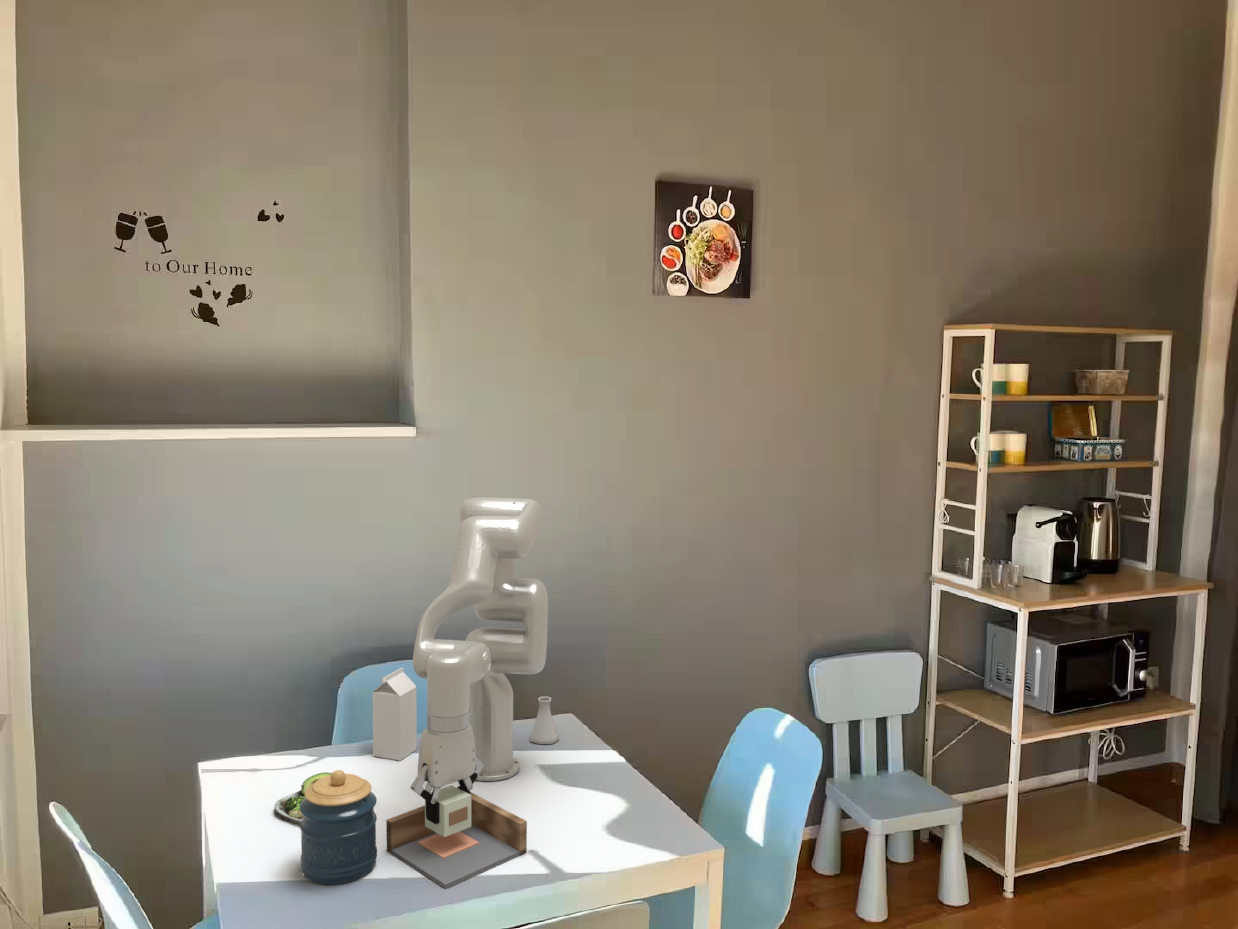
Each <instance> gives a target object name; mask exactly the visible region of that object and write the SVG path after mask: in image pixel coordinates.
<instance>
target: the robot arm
mask: <svg viewBox="0 0 1238 929" xmlns="http://www.w3.org/2000/svg"><path fill="white" fill-rule="evenodd" d="M459 517H460V522H461V523H460V525H459V527H458V532H457V538H456V542H455V549H454V553H453V554H454V555H453V560H452V567H451V572H450V578H449V582H448V583H449V584H448V586H447V588H446V589H445V590H444V591H443V592H442V593H440V594H439V595H438V596H437V597H436V598H434V600H433V601H432V602H431V603H430V605H429V606H428V607H427V608H426V610H425V611H424V613H423V614H422V616H421V619H420V621H419V623H418V627H417V632H416V636H415V637H416V638H415V641H414V646H413V647H414V648H413V653H412V654H413V655H412V656H413V657H412V666H413V670H414V673H415V674H416V675H417V676H418V677H419V678H421V679H424V680H426V728H424V729H423V730H422V733H421V734H422V735H421V737H420V742H419V743H420V744H419V751H418V761H417V776H416V777H415V779H414V780H413V782H412V784H411V785H410V789H411V790H412V791H413V792H415V793H416V794H417V795H419V796H420V797H421V798H422V799H423V800H424V801H425V800H426V818H427V820H429V821H431V822H432V823H434V824H438V823H439V802H437V798H438V795H439V792H440V789H442V788H443V787H444V786H447V785H448V786H449V785H450V784H453V783H456V782H457V784H458V786H456V787H457V788H458V789H460V790H462V791H464V792H466V793H468V794H470V792H471V791H472V790H473V789H474V788H473V787H474V783H475V781H480V782H482V781H483V782H495V781H502V780H506V779H509V778H512V777H514V776H515V775H517V773H519V771H520V770H521V763H520V761H519V759H518V758H517V757H514V691H513V690H514V689H513V688H512V685H511V683H510V681H509V679H508V678H507V676H506V675H505V674H514V675H536V674H539V673H540V672H542V671H543V669H544V668H545V665H546V661H547V647H548V646H547V644H548V617H549V616H548V615H549V614H548V611H549V598H548V597H549V596H548V590H547V587H546V585H545V584H544V583H543V582H542V581H541V580H540V579H536V578H526V577H516V576H515V561H516V560H520V559H521V560H522V559H524V558H525V557H526V556H528V554H529V553H530V552H531V549H532V547H533V545H534V543H535V540H536V538H537V537H538V535H539V533H540V531H541V526H542V524H543V523H542V522H543V513H542V508H541V506H540V504H539V503H538V501H536V500H534V499H532V498H531V499H530V498H518V497H517V498H516V497H513V498H512V497H493V496H491V497H490V496H489V497H488V496H484V497H482V496H478V497H471V498H468V499H465V500H464V501H463V502H462V503H461V505H460V509H459ZM472 606H473V608H474V610H473V611H474V613H475V614H474V615H476V617H477V618H479V619H481V620H483V621H489V622H499V623H500V622H501V623H503V622H504V623H520V624H523V626H524V628H509V627H490V626H487V627H479V628H476V629H474V630H472V631H470V632H469V633H468V635H467V636H466V638H465V640H459V639H442V638H440V639H439V638H435V635H436V633H437V630H438V629H439V627H440V625H441V624H442V623H443V622H444V621H445V620H446V619H448V618H449V617H450V616H452V615H453V614H455V613H458V612H459V611H462V610H464V609H467V608H469V607H472ZM425 782H426V783H425ZM424 784H425V786H424V787H423V785H424ZM431 792H432V794H431Z"/></svg>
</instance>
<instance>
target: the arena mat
mask: <svg viewBox="0 0 1238 929" xmlns="http://www.w3.org/2000/svg"><path fill="white" fill-rule="evenodd" d="M390 850H391V849H390ZM525 850H526V849H524V851H525ZM527 850H528V849H527ZM527 850H526V852H527ZM522 851H523V850H522ZM526 852H525V853H524V852H522V855H524V854H527V853H528V852H527V853H526ZM387 853H389V851H388V852H387ZM523 853H524V854H523ZM520 854H521V853H520V851H518V850H517V849H515V848H513V847H511V846H509V845H507V844H506V843H504V842H502V841H500V840H498V839H497V838H495V837H493V836H491V835H489V834H488V833H486V832H484V831H482V830H480V829H479V828H477V827H475V826H473V825H471V827H469V828H466V829H464V830H461V831H459V832H456V833H454V834H451V835H449V836H446V837H443V836H441V835H440V834H438V833H433V834H431V835H428V836H426V837H423V838H421V839H418V840H416V841H413V842H411V843H408V844H406V845H403V846H400V847H398V848H395V849H393V850H392V854H391V855H392V856H393V857H395V858H397V859H398V860H400V861H401V862H403V863H405V865H407V866H409V867H410V868H412V869H413V870H415V871H417V872H418V873H419V874H421V875H423V876H424V877H426V878H428V879H429V880H431V881H432V882H434V883H436V884H437V885H439V887H442V888H443V889H445V890H446V889H449V888H451V887H453V886H455V885H458V884H460V883H462V882H464V881H466V880H468V879H469V880H470V879H471V878H473V877H475V876H478V875H481V874H482V873H484V871H485V872H487V871H489V870H491V869H493V868H495V867H498V866H500V865H502V864H504V863H507V862H509V861H510V860H513V859H516V858H517V857H520V856H521V855H520ZM497 865H498V866H497Z"/></svg>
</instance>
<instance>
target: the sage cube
mask: <svg viewBox="0 0 1238 929" xmlns="http://www.w3.org/2000/svg"><path fill="white" fill-rule="evenodd" d="M457 787H458V786H454V785H452V784H451V785H450V784H449V785H448V786H446V787H441V788H440V792H439V795H438V798H437V802H439V823H438V824H434V823H432V822H431V821H429V820H427V818H426V800H425V799H424V805H425V826H426V827H427V828H429V829H431V830H433V831H434V832H436V833H438V834H440V835H441V836H443V837H446V836H449V835H451V834H454V833H456V832H459V831H461V830H464V829H466V828H469V827H471V795H470V794H468V793H466V792H464V791H462V790H460V789H458V788H457ZM431 794H432V791H431Z"/></svg>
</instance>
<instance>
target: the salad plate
mask: <svg viewBox="0 0 1238 929" xmlns="http://www.w3.org/2000/svg"><path fill="white" fill-rule="evenodd" d="M332 773H333V772H319V773H316V774H313V775H311V776H309V777H308V778H306V779H305V780H304V781H303V782H302V783H301V785H300V786H301V789H300V790H297V791H296V792H293V793H291V794H289V795H286V796H284V797H282V798H280V799H279V800H277V801H276V802H275V805H274V812H275V814H276V815H277V816H278V817H280V818H281V819H283V820H284V821H285V820H286V821H289V822H292V823H295V824H298V825H300V824H301V821H302V820H301V819H303V814H302V813H301V812H300V804H301V802H302V801H303V800H304V799H305V791H306V789H307V788H308V787H309V786H310V785H312V784H313V783H315V782H316V781H317V780H319V779H321V778H323V777H326V776H329V775H332Z"/></svg>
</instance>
